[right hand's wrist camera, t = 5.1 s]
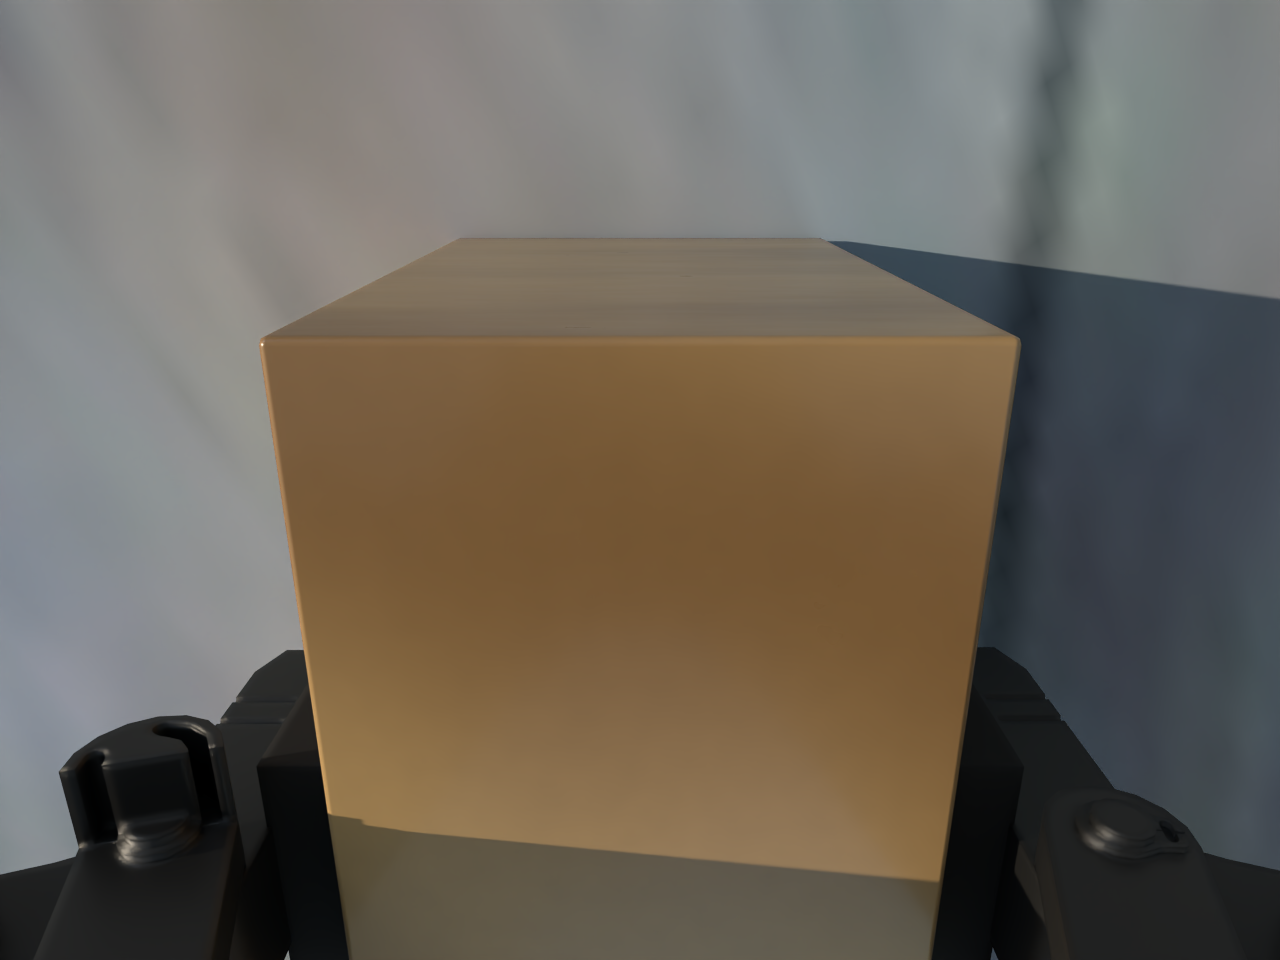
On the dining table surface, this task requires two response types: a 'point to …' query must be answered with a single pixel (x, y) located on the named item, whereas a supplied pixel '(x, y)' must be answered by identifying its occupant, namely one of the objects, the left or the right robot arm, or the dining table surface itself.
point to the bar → (640, 594)
